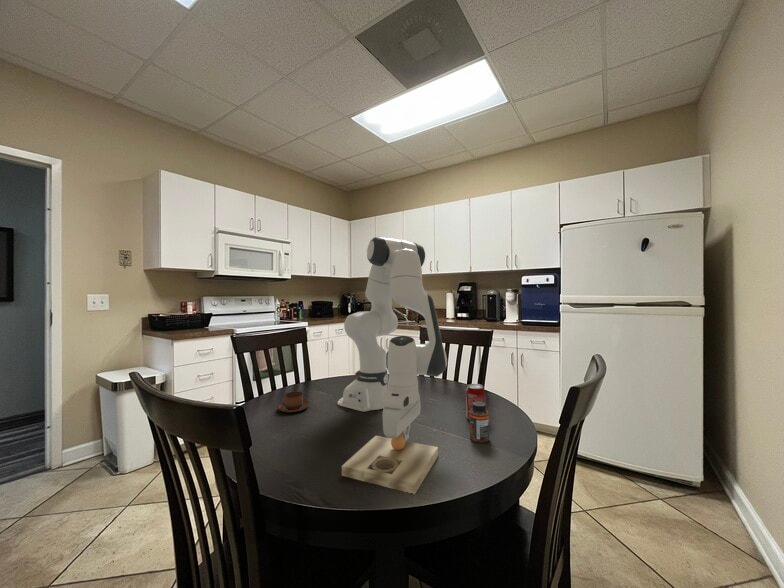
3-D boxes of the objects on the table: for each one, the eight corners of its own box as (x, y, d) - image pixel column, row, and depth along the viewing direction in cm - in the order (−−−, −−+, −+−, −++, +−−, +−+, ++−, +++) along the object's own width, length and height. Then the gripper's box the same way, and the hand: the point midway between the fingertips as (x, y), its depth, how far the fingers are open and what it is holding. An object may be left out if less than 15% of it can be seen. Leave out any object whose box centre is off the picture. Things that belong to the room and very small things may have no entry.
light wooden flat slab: (341, 475, 84) (341, 465, 84) (375, 443, 101) (375, 435, 101) (414, 494, 76) (414, 483, 76) (438, 455, 93) (438, 447, 93)
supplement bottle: (467, 435, 106) (466, 400, 106) (485, 434, 106) (484, 399, 106) (473, 444, 100) (472, 407, 100) (492, 442, 100) (491, 406, 100)
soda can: (486, 423, 115) (485, 389, 115) (466, 421, 117) (466, 388, 116) (484, 415, 122) (484, 383, 122) (466, 414, 123) (465, 383, 123)
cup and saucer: (271, 412, 130) (271, 397, 130) (291, 403, 141) (291, 388, 141) (296, 416, 125) (296, 400, 125) (315, 406, 136) (314, 391, 136)
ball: (388, 451, 91) (388, 437, 91) (394, 445, 95) (394, 431, 95) (401, 454, 90) (401, 439, 89) (407, 447, 93) (407, 433, 93)
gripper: (406, 382, 106) (407, 424, 106) (378, 402, 88) (379, 453, 88) (424, 384, 104) (425, 427, 104) (399, 405, 85) (401, 458, 85)
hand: (404, 440), depth 96 cm, fingers closed
